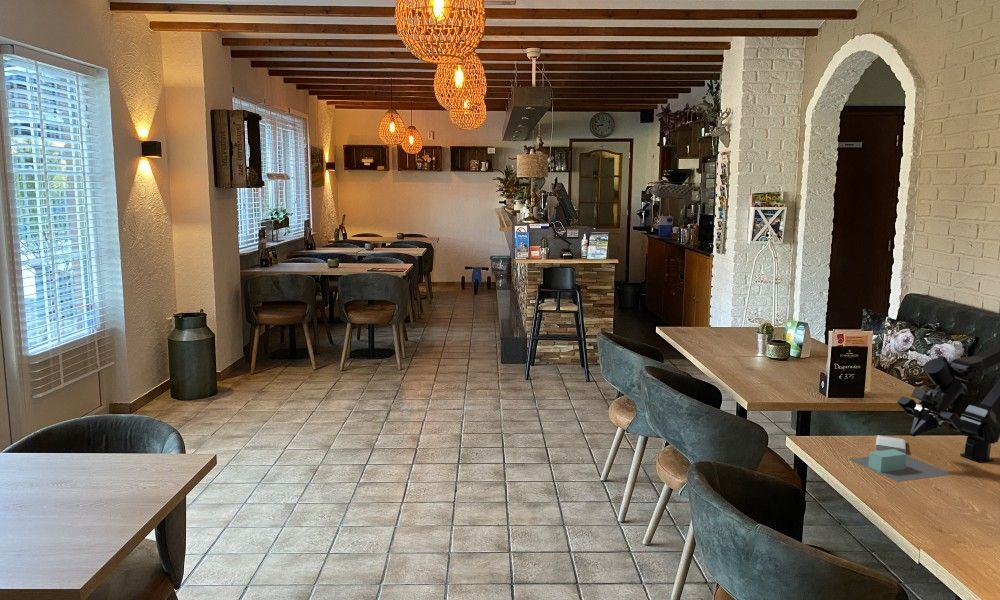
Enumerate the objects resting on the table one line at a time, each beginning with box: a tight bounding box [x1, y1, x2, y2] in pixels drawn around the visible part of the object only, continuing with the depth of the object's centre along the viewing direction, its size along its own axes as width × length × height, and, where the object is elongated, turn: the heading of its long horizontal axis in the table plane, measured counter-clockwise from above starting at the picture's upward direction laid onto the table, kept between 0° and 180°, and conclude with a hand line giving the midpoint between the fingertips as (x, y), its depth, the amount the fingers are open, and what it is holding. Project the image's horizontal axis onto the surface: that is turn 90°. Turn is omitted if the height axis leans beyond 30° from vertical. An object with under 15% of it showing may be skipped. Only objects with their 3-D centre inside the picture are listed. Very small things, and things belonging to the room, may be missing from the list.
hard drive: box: [875, 434, 907, 454], centre depth 235 cm, size 2×8×12 cm
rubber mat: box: [848, 455, 954, 483], centre depth 217 cm, size 20×18×1 cm
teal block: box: [868, 449, 908, 473], centre depth 216 cm, size 4×4×9 cm
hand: (911, 435), depth 217 cm, fingers closed
